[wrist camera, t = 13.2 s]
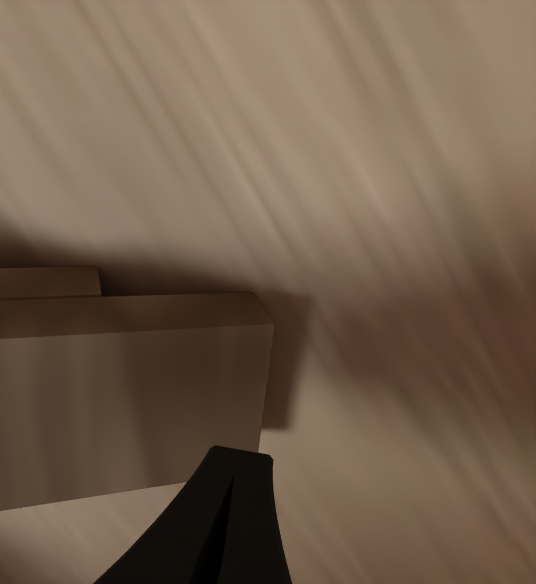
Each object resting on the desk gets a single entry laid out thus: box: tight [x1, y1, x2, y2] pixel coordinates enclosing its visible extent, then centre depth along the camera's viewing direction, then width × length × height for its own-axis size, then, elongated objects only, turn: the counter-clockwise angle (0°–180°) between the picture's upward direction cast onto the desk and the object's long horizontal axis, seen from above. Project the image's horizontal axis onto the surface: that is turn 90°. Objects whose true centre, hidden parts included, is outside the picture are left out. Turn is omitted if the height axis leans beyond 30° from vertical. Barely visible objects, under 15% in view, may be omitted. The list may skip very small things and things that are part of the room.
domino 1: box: [0, 292, 275, 511], centre depth 14 cm, size 2×5×7 cm
